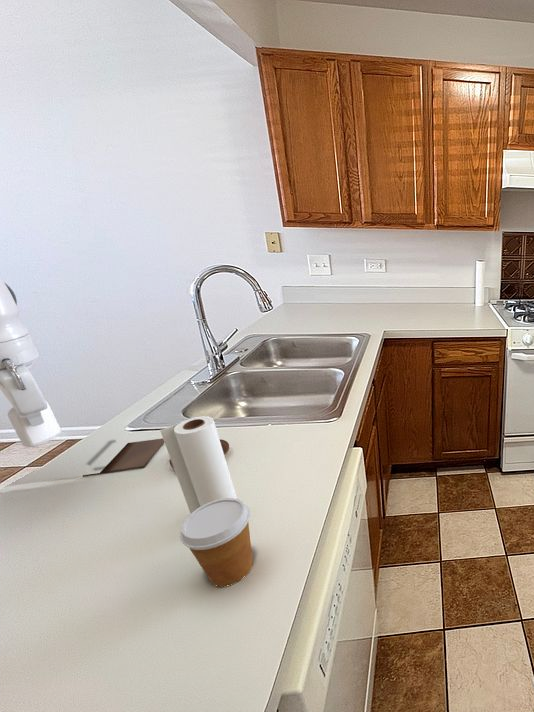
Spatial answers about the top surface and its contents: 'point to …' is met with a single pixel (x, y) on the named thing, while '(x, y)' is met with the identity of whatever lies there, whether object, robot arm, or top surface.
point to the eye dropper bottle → (35, 427)
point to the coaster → (133, 456)
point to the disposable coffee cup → (220, 540)
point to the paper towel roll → (198, 461)
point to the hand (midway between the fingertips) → (34, 419)
